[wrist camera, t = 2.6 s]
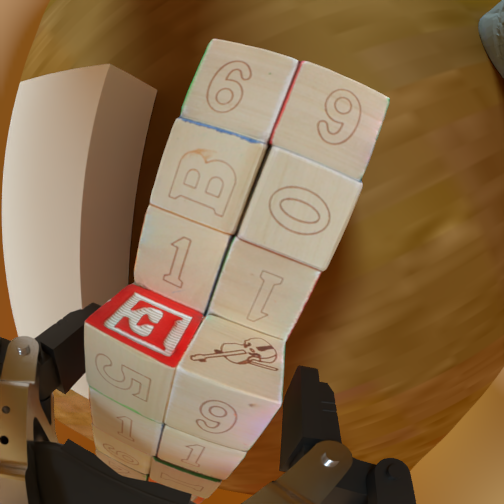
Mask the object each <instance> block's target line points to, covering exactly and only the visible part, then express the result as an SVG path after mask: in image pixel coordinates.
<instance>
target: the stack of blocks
mask: <svg viewBox="0 0 504 504" xmlns="http://www.w3.org/2000/svg"><path fill="white" fill-rule="evenodd" d="M389 102H390V98H388V97H386V96H385V95H383V94H381V93H379V92H377V91H375V90H373V89H371V88H369V87H367V86H365V85H363V84H361V83H359V82H357V81H354V80H352V79H350V78H347V77H345V76H343V75H341V74H338V73H336V72H334V71H331V70H329V69H327V68H324V67H321V66H319V65H316V64H314V63H311V62H308V61H298V60H296V59H294V58H291V57H288V56H285V55H282V54H279V53H276V52H272V51H269V50H265V49H261V48H257V47H252V46H247V45H244V44H240V43H235V42H230V41H225V40H219V39H212V40H211V41H210V43H209V44H208V46H207V48H206V50H205V53H204V55H203V57H202V59H201V61H200V64H199V66H198V68H197V70H196V73H195V75H194V77H193V80H192V82H191V84H190V86H189V89H188V91H187V94H186V96H185V100H184V102H183V105H182V107H181V114H180V117H178V118H177V119H176V120H175V122H174V124H173V126H172V129H171V132H170V135H169V138H168V141H167V144H166V147H165V150H164V153H163V156H162V159H161V162H160V166H159V169H158V173H157V176H156V180H155V183H154V186H153V189H152V193H151V197H150V204H149V206H148V208H147V211H146V214H145V218H144V222H143V226H142V230H141V235H140V239H139V245H138V250H137V256H136V261H135V266H134V280H135V282H134V283H132V284H130V285H127V286H126V287H125V288H123V289H122V290H120V291H119V292H118V293H117V294H116V295H115V296H114V297H113V298H111V299H110V300H108V301H107V302H106V303H105V304H104V305H102V306H101V307H100V308H99V309H98V310H96V311H95V312H94V313H93V314H91V315H90V316H89V317H88V318H87V319H86V320H85V324H84V349H85V369H86V380H87V383H88V385H89V402H90V408H91V417H92V430H93V436H94V442H95V446H96V450H95V451H96V456H97V457H98V458H99V459H101V460H102V461H103V462H104V463H105V464H107V465H108V466H109V467H110V468H112V469H113V470H114V471H116V472H117V473H118V474H120V475H122V476H125V477H129V478H134V479H139V480H144V481H149V482H155V483H159V484H162V485H165V486H168V487H171V488H174V489H177V490H180V491H183V492H187V493H190V494H192V495H191V500H190V501H192V502H194V503H196V504H200V503H201V502H202V501H203V500H204V499H205V498H209V496H210V495H211V494H212V493H213V492H214V491H215V490H216V489H217V488H218V486H219V485H220V484H221V481H222V480H225V479H227V478H228V477H229V476H230V475H231V473H232V472H233V471H234V470H235V469H236V467H237V466H238V465H239V464H240V462H241V461H242V460H243V459H244V458H245V456H246V453H247V451H248V450H249V449H251V447H252V446H253V445H254V443H255V442H256V441H257V439H258V438H259V437H260V435H261V434H262V433H263V431H264V430H265V429H266V427H267V426H268V425H269V423H270V422H271V420H272V419H273V417H274V416H275V414H276V413H277V411H278V410H279V409H280V407H281V406H282V398H283V382H284V366H285V345H286V341H287V340H288V338H289V336H290V335H291V333H292V331H293V329H294V327H295V325H296V323H297V321H298V319H299V318H300V316H301V314H302V312H303V310H304V308H305V306H306V304H307V302H308V300H309V298H310V296H311V294H312V292H313V290H314V288H315V286H316V284H317V282H318V280H319V278H320V275H321V273H322V272H323V271H324V270H326V269H327V267H328V265H329V263H330V261H331V259H332V257H333V255H334V253H335V251H336V248H337V246H338V244H339V242H340V240H341V238H342V236H343V233H344V231H345V229H346V227H347V224H348V222H349V220H350V217H351V215H352V212H353V210H354V208H355V205H356V203H357V200H358V198H359V195H360V193H361V190H362V188H363V184H362V177H363V175H364V172H365V170H366V168H367V165H368V163H369V160H370V158H371V155H372V152H373V149H374V146H375V144H376V141H377V138H378V135H379V133H380V130H381V127H382V123H383V121H384V118H385V115H386V112H387V109H388V106H389Z"/></svg>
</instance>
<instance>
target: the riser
mask: <svg viewBox="0 0 504 504" xmlns="http://www.w3.org/2000/svg"><path fill="white" fill-rule="evenodd" d="M156 94H157V90H156V89H155V88H153V87H151V86H150V85H148V84H146V83H144V82H143V81H141V80H139V79H137V78H136V77H134V76H132V75H130V74H128V73H127V72H125V71H123V70H121V69H119V68H117V67H115V66H113V65H112V64H103V65H96V66H89V67H83V68H77V69H71V70H66V71H61V72H57V73H52V74H48V75H44V76H40V77H36V78H33V79H29V80H26V81H22V82H20V85H19V89H18V92H17V96H16V100H15V104H14V108H13V113H12V117H11V122H10V128H9V133H8V139H7V146H6V153H5V162H4V173H3V188H2V234H3V250H4V260H5V270H6V277H7V284H8V291H9V296H10V301H11V307H12V312H13V316H14V320H15V324H16V329H17V333H18V336H19V337H20V336H29V337H32V338H36V337H37V336H38V335H40V334H41V333H43V332H44V331H45V330H47V329H48V328H49V327H51V326H52V325H53V324H55V323H57V322H58V321H59V320H60V319H63V317H64V316H66V315H67V314H69V313H70V312H73V311H76V310H79V309H84V308H85V307H86V306H88V305H89V304H91V303H96V304H99V305H101V306H102V305H104V304H105V303H106V302H107V301H108V300H110V299H111V298H113V297H114V296H115V295H116V294H117V293H118V292H119V291H120V290H122V289H123V288H125V287H126V286H127V285H128V276H129V258H130V245H131V233H132V223H133V214H134V206H135V198H136V191H137V184H138V178H139V172H140V166H141V160H142V155H143V150H144V145H145V140H146V135H147V130H148V126H149V122H150V117H151V113H152V109H153V105H154V101H155V97H156ZM71 389H72V390H73V391H75V392H77V393H79V394H80V395H82V396H84V397H86V398H88V399H89V385H88V383H87V380H86V373H85V374H84V375H83V376H82V377H81V378H80V379H79V380H78V381H77V382H76V383H75V384H74V385H73V386H72V388H71Z"/></svg>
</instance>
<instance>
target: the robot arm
mask: <svg viewBox="0 0 504 504" xmlns="http://www.w3.org/2000/svg"><path fill="white" fill-rule="evenodd" d="M100 307H101V305H99V304H96V303H91V304H89V305H88V306H86V307H85V308H84V309H79V310H76V311H73V312H70V313H69V314H67V315H66V316H64V317H63V319H60V320H59V321H58V322H57V323H55V324H53V325H52V326H51V327H49V328H48V329H47V330H45V331H44V332H43V333H41V334H40V335H38V336H37V337H36V338H32V337H29V336H20V337H17V338H15V339H13V340H12V341H9V340H7V339H4V338H1V337H0V504H196V503H194V502H192V501H190V500H191V495H192V494H190V493H187V492H183V491H180V490H177V489H174V488H171V487H168V486H165V485H162V484H159V483H155V482H149V481H144V480H139V479H134V478H129V477H125V476H122V475H120V474H118V473H117V472H116V471H114V470H113V469H112V468H110V467H109V466H108V465H107V464H105V463H104V462H103V461H102V460H101V459H99V458H98V457H97V456H96V455H95V454H93V453H91V452H90V451H88V450H86V449H84V448H83V447H81V446H79V445H78V444H76V443H74V442H73V441H71V440H69V439H68V440H67V441H66V443H65V444H60V443H58V440H57V436H56V432H55V419H54V395H53V391H54V390H55V389H58V390H59V391H61V392H62V393H64V394H66V393H67V392H68V391H69V390H70V389H71V388H72V386H73V385H74V384H75V383H76V382H77V381H78V380H79V379H80V378H81V377H82V376H83V375H84V374H85V373H86V369H85V349H84V324H85V320H86V319H87V318H88V317H89V316H90V315H91V314H93V313H94V312H95V311H96V310H98V309H99V308H100ZM336 411H337V410H336V405H335V398H334V392H333V391H332V389H331V388H330V387H329V385H328V384H327V383H323V382H319V374H318V369H316V368H310V367H305V366H298V367H297V369H296V371H295V374H294V376H293V378H292V381H291V383H290V385H289V388H288V390H287V392H286V395H285V399H284V404H283V421H282V439H281V454H280V469H279V471H284V472H286V473H284V474H283V475H282V476H281V477H280V478H278V479H277V480H276V481H272V482H270V483H269V484H267V485H266V486H265V487H263V488H262V489H261V490H259V491H258V492H257V493H255V494H254V495H253V496H251V497H250V498H249V499H247V500H246V501H244V502H243V503H241V504H416V500H415V495H414V490H413V484H412V480H411V475H410V471H409V469H408V467H407V466H406V465H405V464H404V463H403V462H402V461H400V460H398V459H394V458H386V459H383V460H381V461H380V462H379V463H378V464H377V465H375V464H371V463H367V462H364V461H360V460H357V459H355V458H353V457H352V454H351V452H350V450H349V449H348V448H347V447H346V446H344V445H343V444H342V443H341V436H340V429H339V423H338V416H337V413H336Z"/></svg>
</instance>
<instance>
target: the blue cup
mask: <svg viewBox="0 0 504 504" xmlns="http://www.w3.org/2000/svg"><path fill="white" fill-rule="evenodd" d="M479 34H480V38H481V40H482V43H483V46H484V48H485V50H486V52H487V54H488V56H489V58H490V59H491V61H492V63H493V64H494V66H495V67H496V69H497V70H498V72H499V73H500V74H501V76H502V77H503V78H504V0H502V1H501V2H499V3H498V4H497V5H496V6H495V7H494V8H493V9H491V10H490V11H489V12H488V13H486V14H485V15H484V16H483V17H482V18H481V19H480V22H479Z"/></svg>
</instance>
